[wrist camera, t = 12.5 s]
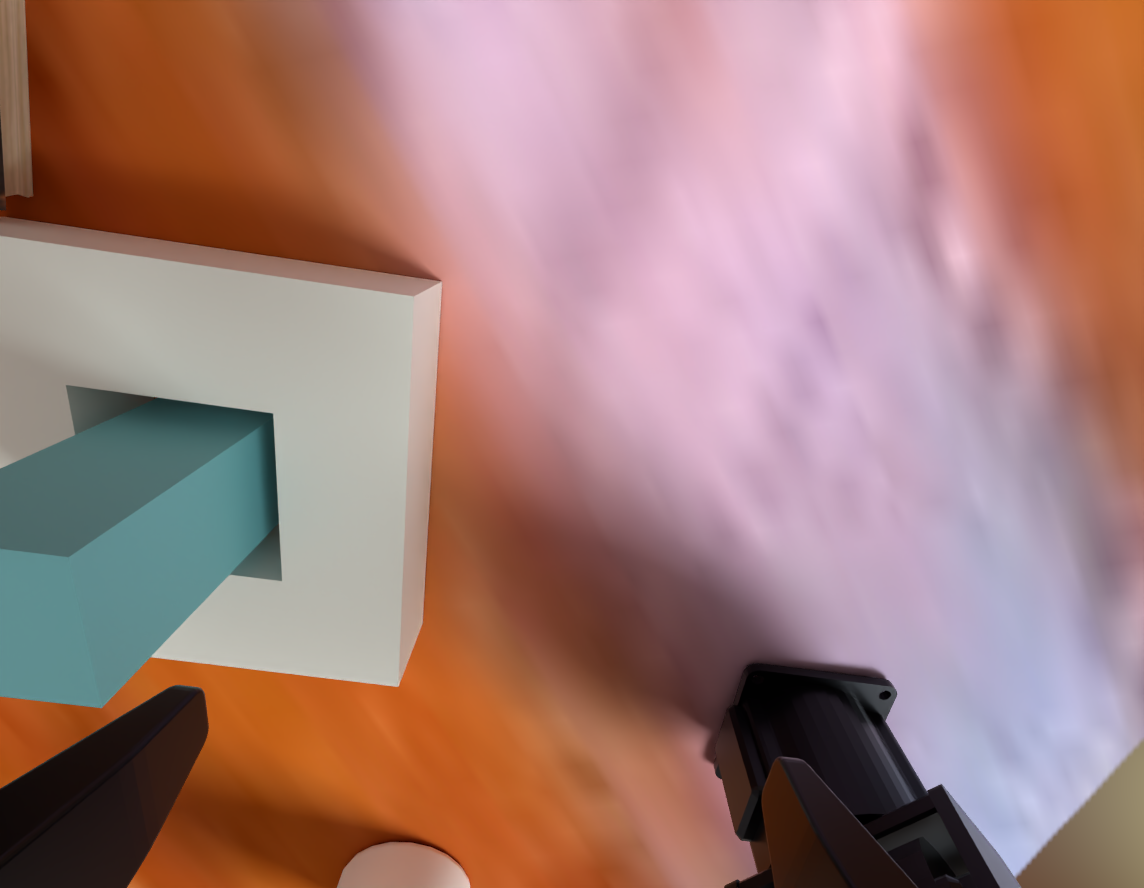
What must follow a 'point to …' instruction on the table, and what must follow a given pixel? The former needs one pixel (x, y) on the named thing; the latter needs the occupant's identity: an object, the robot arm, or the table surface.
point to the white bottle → (403, 868)
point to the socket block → (259, 383)
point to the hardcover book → (14, 104)
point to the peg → (124, 541)
